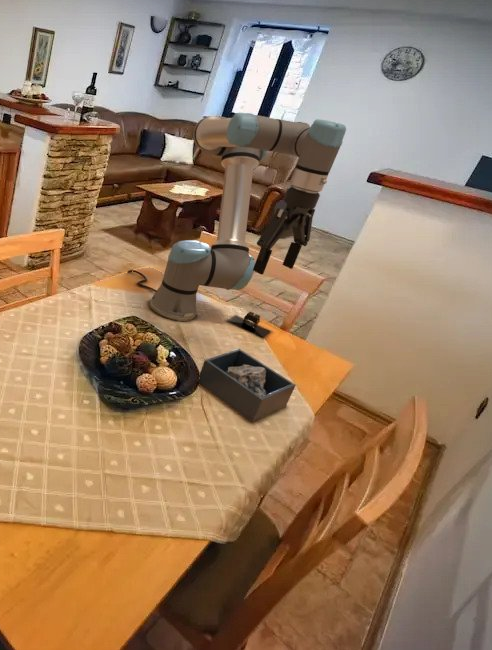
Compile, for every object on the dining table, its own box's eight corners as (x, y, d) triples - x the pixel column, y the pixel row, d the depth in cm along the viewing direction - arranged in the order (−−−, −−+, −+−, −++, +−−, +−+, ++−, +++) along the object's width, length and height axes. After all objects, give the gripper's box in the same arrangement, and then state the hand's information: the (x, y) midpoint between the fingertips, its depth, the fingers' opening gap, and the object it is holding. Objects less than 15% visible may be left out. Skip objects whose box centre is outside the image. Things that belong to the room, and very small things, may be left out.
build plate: (270, 332, 164) (275, 320, 162) (262, 339, 159) (268, 326, 157) (235, 316, 171) (240, 304, 168) (227, 322, 165) (231, 309, 163)
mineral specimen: (237, 412, 129) (249, 387, 135) (266, 409, 123) (277, 383, 129) (218, 384, 127) (231, 359, 133) (247, 379, 121) (259, 354, 127)
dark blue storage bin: (196, 381, 131) (204, 359, 128) (231, 368, 140) (239, 348, 136) (252, 422, 119) (262, 399, 116) (285, 406, 128) (296, 384, 125)
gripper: (289, 195, 111) (257, 281, 121) (344, 192, 125) (310, 270, 135) (261, 184, 116) (232, 268, 126) (317, 183, 130) (286, 259, 140)
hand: (273, 269), depth 131 cm, fingers open, 13 cm apart
